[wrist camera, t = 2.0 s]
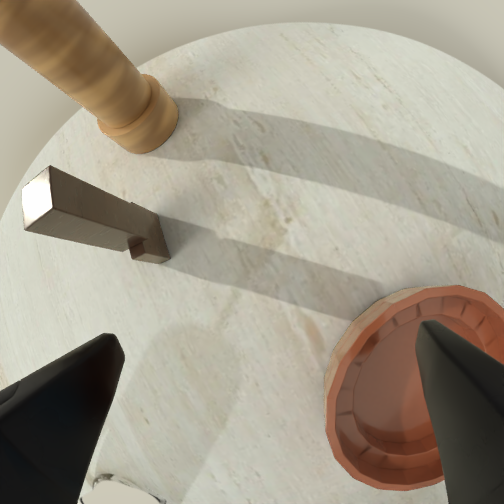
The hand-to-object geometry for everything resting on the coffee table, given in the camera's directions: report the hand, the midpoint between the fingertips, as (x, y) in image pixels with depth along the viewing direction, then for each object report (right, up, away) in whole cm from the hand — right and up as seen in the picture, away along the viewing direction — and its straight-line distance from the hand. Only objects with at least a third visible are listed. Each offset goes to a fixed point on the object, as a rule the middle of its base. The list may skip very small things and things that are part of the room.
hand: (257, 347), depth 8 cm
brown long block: (-8, +4, +16) cm, 18 cm away
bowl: (+12, -7, +11) cm, 18 cm away
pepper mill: (-10, +15, +18) cm, 25 cm away
